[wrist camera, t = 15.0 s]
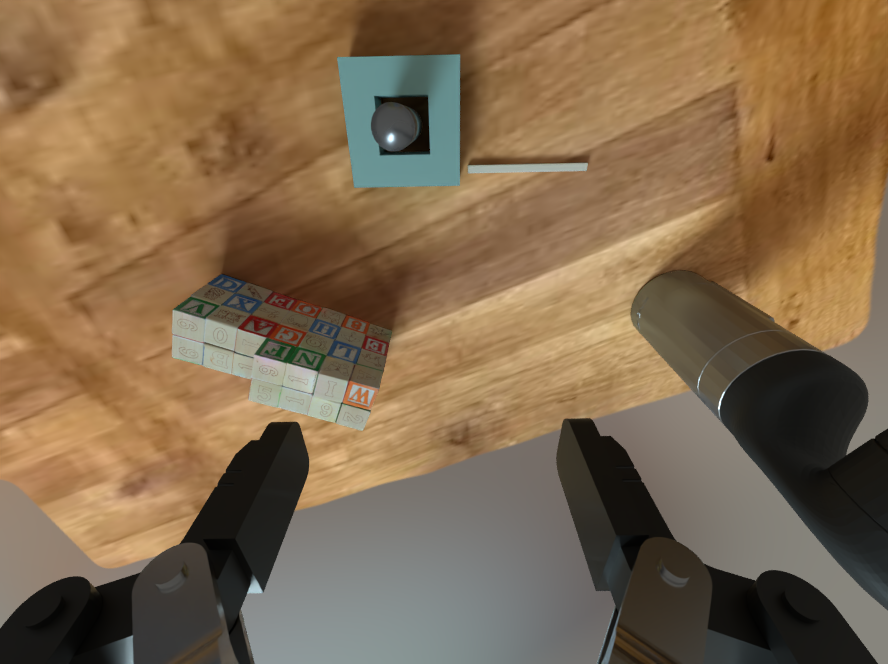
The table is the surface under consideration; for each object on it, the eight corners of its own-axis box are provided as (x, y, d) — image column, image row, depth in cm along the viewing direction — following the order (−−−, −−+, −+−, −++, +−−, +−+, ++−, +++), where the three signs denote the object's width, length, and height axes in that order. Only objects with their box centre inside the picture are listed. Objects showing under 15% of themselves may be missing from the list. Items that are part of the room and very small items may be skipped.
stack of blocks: (216, 316, 47) (149, 374, 36) (221, 272, 44) (149, 322, 33) (380, 367, 51) (363, 433, 40) (394, 329, 48) (379, 391, 37)
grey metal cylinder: (421, 106, 35) (412, 101, 25) (423, 142, 37) (415, 150, 26) (390, 107, 35) (368, 102, 25) (393, 142, 37) (373, 151, 26)
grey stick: (585, 162, 38) (587, 163, 37) (584, 170, 38) (586, 170, 38) (468, 165, 38) (468, 165, 37) (467, 172, 38) (468, 173, 38)
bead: (458, 61, 34) (460, 54, 30) (458, 179, 39) (459, 185, 35) (348, 63, 34) (337, 57, 30) (362, 181, 39) (354, 187, 35)
